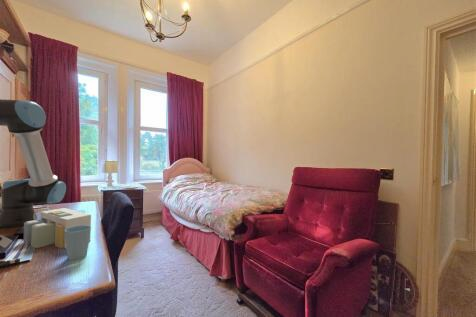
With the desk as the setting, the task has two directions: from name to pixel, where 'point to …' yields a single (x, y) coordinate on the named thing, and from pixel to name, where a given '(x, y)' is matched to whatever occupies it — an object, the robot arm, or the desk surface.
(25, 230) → the grey square block
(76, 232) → the cup
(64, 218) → the console
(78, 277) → the desk surface
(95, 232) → the desk surface
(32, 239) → the pale green block
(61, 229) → the yellow square block
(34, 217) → the watch
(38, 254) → the desk surface
